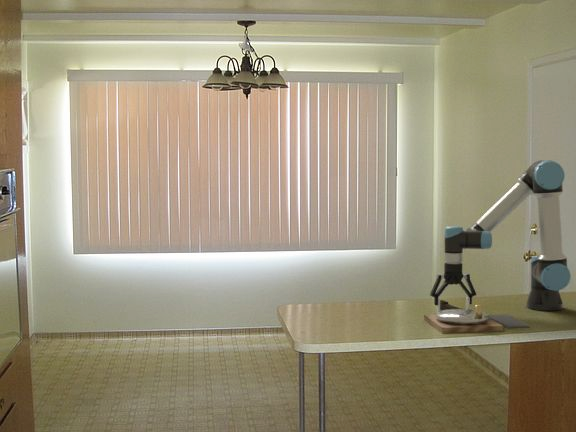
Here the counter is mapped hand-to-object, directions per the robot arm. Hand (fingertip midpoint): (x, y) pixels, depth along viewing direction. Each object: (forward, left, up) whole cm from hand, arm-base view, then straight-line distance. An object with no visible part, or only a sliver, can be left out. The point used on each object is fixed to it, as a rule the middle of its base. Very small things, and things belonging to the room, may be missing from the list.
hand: (453, 312), depth 324 cm
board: (+4, +24, 0) cm, 24 cm away
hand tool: (+2, 0, -1) cm, 2 cm away
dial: (+4, +24, +2) cm, 24 cm away
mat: (-16, +20, 0) cm, 26 cm away
